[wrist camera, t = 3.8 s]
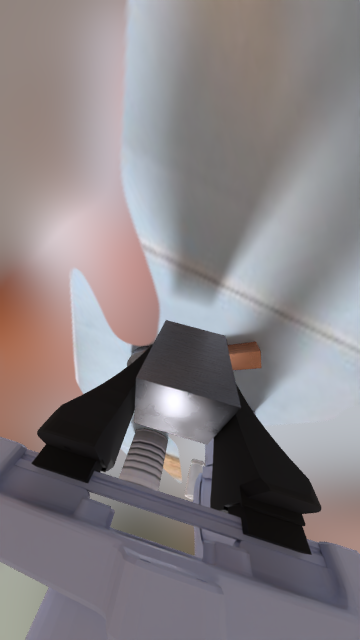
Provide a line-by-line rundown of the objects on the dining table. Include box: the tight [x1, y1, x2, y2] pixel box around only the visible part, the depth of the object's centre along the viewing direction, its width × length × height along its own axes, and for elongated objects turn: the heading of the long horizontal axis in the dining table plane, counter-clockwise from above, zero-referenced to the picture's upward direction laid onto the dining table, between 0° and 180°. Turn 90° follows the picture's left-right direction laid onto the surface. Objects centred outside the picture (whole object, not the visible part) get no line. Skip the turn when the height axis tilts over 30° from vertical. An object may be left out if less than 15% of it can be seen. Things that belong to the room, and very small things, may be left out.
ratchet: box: [127, 342, 261, 370], centre depth 20 cm, size 21×8×4 cm, turn 108°
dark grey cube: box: [134, 320, 241, 444], centre depth 11 cm, size 6×6×6 cm
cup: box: [185, 460, 205, 500], centre depth 43 cm, size 7×10×8 cm
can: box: [119, 429, 168, 491], centre depth 38 cm, size 11×11×12 cm
